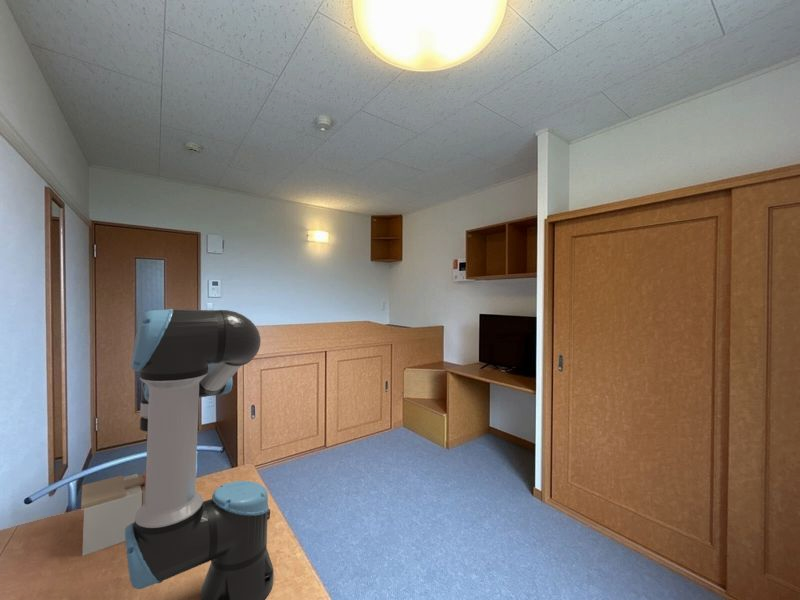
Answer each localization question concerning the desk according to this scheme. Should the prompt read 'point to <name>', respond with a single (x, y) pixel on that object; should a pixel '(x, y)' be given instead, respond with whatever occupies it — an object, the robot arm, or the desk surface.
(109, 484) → the flap
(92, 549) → the carton
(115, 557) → the desk surface
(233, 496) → the robot arm
